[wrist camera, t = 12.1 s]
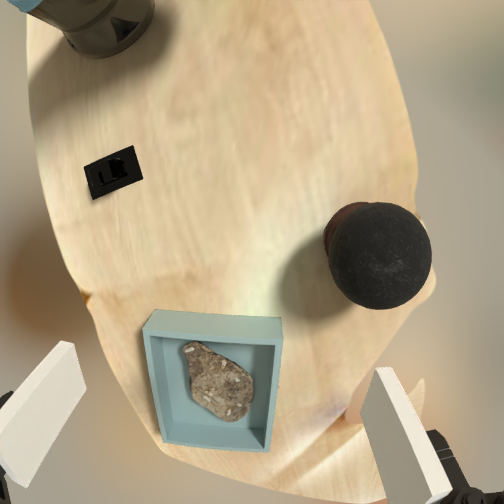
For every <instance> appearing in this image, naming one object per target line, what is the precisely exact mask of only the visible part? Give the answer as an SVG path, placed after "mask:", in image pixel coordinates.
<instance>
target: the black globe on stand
mask: <svg viewBox="0 0 504 504" xmlns="http://www.w3.org/2000/svg"><path fill="white" fill-rule="evenodd" d="M324 244H325V251H326V254H327V256H328V258H329V267H330V270H331V273H332V276H333V279H334V281H335V283H336V285H337V286H338V288H339V289H340V290H341V291H342V292H343V293H344V295H345V296H346V297H347V298H348V299H350V300H351V301H353V302H354V303H356V304H358V305H361V306H363V307H366V308H369V309H375V310H383V309H391V308H395V307H398V306H400V305H402V304H404V303H406V302H407V301H409V300H410V299H412V298H413V297H414V296H415V295H416V294H417V293H418V292H419V291H420V289H421V288H422V287H423V285H424V283H425V281H426V280H427V277H428V275H429V272H430V268H431V262H432V252H431V245H430V240H429V237H428V235H427V232H426V230H425V229H424V227H423V226H422V224H421V223H420V221H419V220H418V219H417V218H416V217H415V216H414V215H413V214H412V213H411V212H409V211H408V210H406V209H404V208H402V207H401V206H398V205H395V204H392V203H383V202H375V203H368V202H356V203H352V204H349V205H346V206H345V207H343V208H341V209H340V210H339V211H338V212H337V213H336V214H334V216H333V217H332V219H331V220H330V222H329V224H328V226H327V228H326V232H325V239H324Z"/></svg>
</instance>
